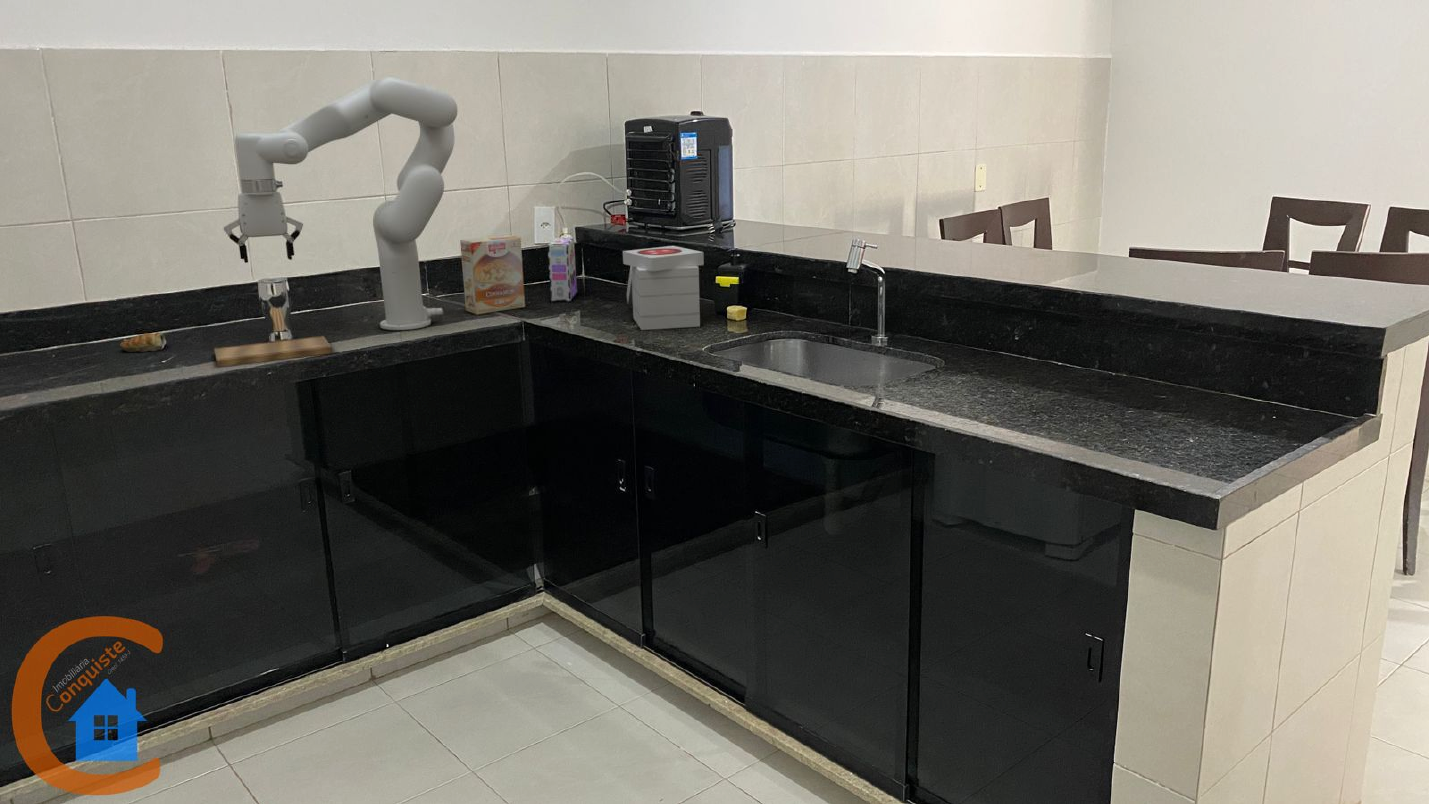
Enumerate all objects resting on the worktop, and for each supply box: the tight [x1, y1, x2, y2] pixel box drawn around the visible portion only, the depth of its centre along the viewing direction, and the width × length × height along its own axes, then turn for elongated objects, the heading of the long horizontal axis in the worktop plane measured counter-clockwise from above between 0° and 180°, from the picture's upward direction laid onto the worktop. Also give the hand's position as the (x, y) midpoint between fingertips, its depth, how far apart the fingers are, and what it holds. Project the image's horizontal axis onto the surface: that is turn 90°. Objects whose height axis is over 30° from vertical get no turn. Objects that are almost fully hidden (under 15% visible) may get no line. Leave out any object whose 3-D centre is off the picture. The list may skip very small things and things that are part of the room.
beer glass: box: [257, 276, 296, 342], centre depth 246 cm, size 7×7×15 cm
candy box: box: [547, 237, 578, 302], centre depth 293 cm, size 14×6×16 cm, turn 179°
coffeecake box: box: [459, 234, 526, 315], centre depth 278 cm, size 15×7×20 cm, turn 129°
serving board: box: [213, 335, 333, 368], centre depth 235 cm, size 24×13×2 cm, turn 118°
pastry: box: [119, 331, 167, 353], centre depth 242 cm, size 9×7×4 cm
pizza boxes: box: [622, 245, 705, 331], centre depth 263 cm, size 19×30×18 cm, turn 12°
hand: (268, 260), depth 243 cm, fingers open, 9 cm apart
